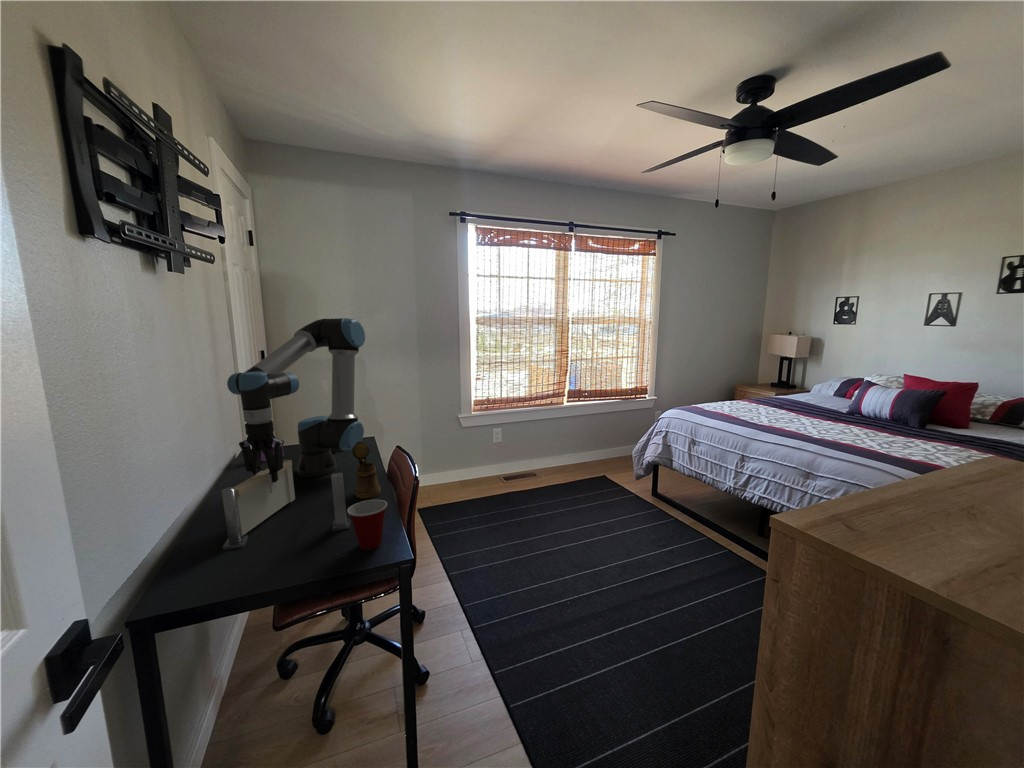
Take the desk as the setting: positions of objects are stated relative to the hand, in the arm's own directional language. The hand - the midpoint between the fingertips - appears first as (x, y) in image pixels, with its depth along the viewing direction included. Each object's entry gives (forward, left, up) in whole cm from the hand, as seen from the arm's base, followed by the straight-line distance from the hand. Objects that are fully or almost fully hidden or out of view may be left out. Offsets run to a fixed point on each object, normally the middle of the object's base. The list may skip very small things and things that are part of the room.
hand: (267, 491), depth 130 cm
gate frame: (+13, +8, -10) cm, 18 cm away
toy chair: (-66, -12, -10) cm, 67 cm away
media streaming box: (-69, +12, -10) cm, 70 cm away
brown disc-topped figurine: (-11, +30, -10) cm, 33 cm away
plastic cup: (+27, +31, -10) cm, 42 cm away
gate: (+1, 0, -8) cm, 8 cm away
